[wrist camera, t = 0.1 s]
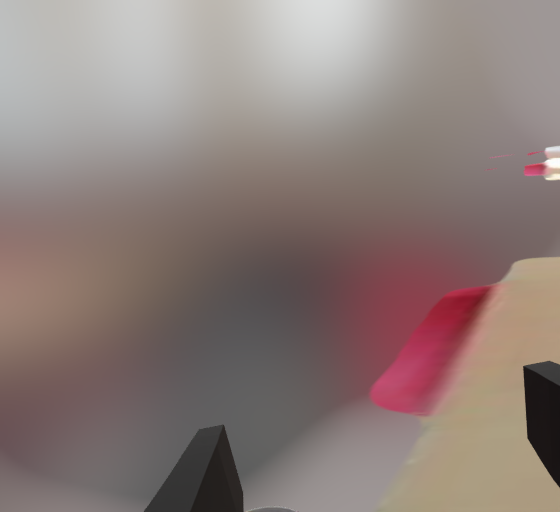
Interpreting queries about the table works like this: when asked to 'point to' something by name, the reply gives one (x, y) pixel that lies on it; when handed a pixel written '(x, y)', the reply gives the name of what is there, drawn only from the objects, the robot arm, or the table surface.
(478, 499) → the table surface
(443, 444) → the table surface
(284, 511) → the soda can
